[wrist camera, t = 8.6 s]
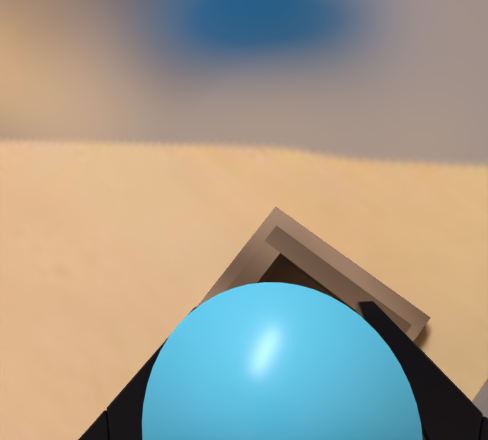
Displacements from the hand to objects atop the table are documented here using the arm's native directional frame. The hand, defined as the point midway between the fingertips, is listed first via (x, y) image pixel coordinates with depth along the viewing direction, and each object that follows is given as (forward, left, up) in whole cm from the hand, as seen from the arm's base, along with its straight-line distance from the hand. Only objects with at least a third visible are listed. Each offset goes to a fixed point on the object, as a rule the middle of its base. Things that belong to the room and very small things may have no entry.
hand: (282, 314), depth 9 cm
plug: (-1, -1, -4) cm, 4 cm away
